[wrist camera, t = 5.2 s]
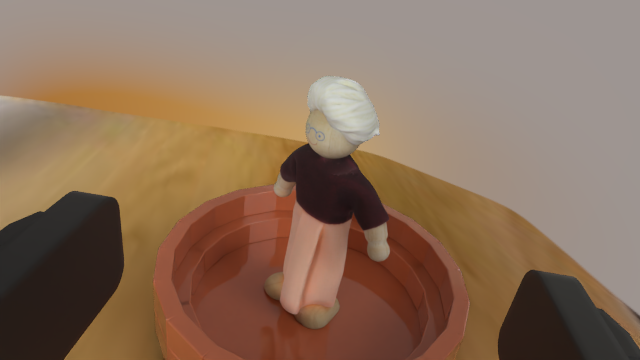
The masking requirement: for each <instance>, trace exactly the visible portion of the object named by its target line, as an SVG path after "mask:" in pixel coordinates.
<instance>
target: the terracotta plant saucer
mask: <svg viewBox="0 0 640 360" xmlns="http://www.w3.org/2000/svg"><path fill="white" fill-rule="evenodd" d="M295 201H296V185H295V186H294V187H293V190H292V193H291V194H290V195H289V196H287V197H279V196H278V195H276V194H275V192H274V185H267V186H260V187H254V188H247V189H241V190H236V191H234V192H231V193H228V194H225V195H223V196H220V197H217V198H215V199H212V200H209V201H206V202H205V203H203V204H202V205H200V206H199V207H197V208H196V209H194V210H193V211H192V212H190V213H189V214H187V215H186V216H184V217H183V218H181V219H180V220H179V221H178V222H177V223H176V225H175V226H174V227H173V229H172V230H171V232H170V233H169V234H168V236H167V237H166V239H165V240H164V241H163V243H162V244H161V246H160V247H159V248H158V254H157V260H156V266H155V272H154V278H153V292H154V309H155V328H156V334H157V337H158V340H159V344H160V347H161V350H162V353H163V356H164V359H165V360H454V359H455V357H456V354H457V352H458V350H459V347H460V345H461V342H462V340H463V337H464V333H465V328H466V322H467V317H468V312H469V306H470V303H469V302H470V301H469V298H468V294H467V291H466V287H465V284H464V280H463V277H462V273H461V271H460V268H459V267H458V265H457V264H456V263H455V261H454V260H453V259H452V257H451V256H450V254H449V253H448V252H447V250H446V249H445V248H444V246H443V245H442V243H440V241H439V240H437V239H436V238H435V237H434V236H433V235H431V234H430V233H429V232H428V231H426V230H425V229H424V228H423V227H422V226H420V225H419V224H418V223H417V222H415V221H414V220H412V219H411V218H409V217H407V216H405V215H403V214H401V213H400V212H398V211H396V210H394V209H392V208H390V207H388V206H386V205H384V204H383V203H382V205H383V207H384V208H385V210H386V212H387V214H388V216H389V220H388V221H387V222H386V224H387V232H388V236H387V239H386V240H387V243H388V245H389V249H390V254H389V256H388V257H387V258H386V259H385V260H384V261H380V262H377V261H374V260H372V259H370V257H369V256H368V253H367V246H368V241H367V240H366V238H365V234H364V231H363V230H362V228H361V227H360V225H359V224H358V222H357V220H356V218H355V216H354V213H353V216H352V221H351V224H350V229H349V234H348V243H347V253H346V259H345V265H344V272H343V276H342V279H341V282H340V285H339V288H338V292H337V295H336V298H337V300H338V302H339V305H340V308H339V311H338V312H337V314H336V315H335V316H334V317H333V318H332V319H331V320H330V322H329V323H328V324H327V325H326V326H324V327H323V328H319V329H310V328H307V327H305V326H303V325H302V324H301V323H299V322H298V321H297V320H296V318H295V316H294V314H292V313H290V312H288V311H286V310H285V309H284V308H283V307H282V305H281V302H280V300H275V299H273V298H271V297H270V296H269V295H268V294H267V293H266V291H265V289H264V284H265V282H266V280H267V279H268V277H269V276H271V275H272V274H274V273H278V272H283V266H284V259H285V255H286V250H287V246H288V241H289V236H290V230H291V224H292V217H293V209H294V205H295Z"/></svg>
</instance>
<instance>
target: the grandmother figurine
mask: <svg viewBox="0 0 640 360" xmlns="http://www.w3.org/2000/svg"><path fill="white" fill-rule="evenodd" d="M307 97H308V107H309V108H310V115H309V117H308V119H307V123H306V137H307V140H308V144H306V145H304V146H302V147H300V148H298V149H297V150H295V151H294V152H293V153H292V154H291V155H290V156H289V157H288V158H287V159H286V161H285V162H284V163H283V164H282V166H281V169H280V173H279V176H278V179H277V180H278V181H277V182H276V183H275V185H274V192H275V194H276V195H278V196H279V197H287V196H289V195H290V194H291V193H292V190H293V187H294V186H295V185H296V201H295V205H294V209H293V217H292V224H291V230H290V236H289V241H288V246H287V250H286V255H285V259H284V266H283V272H278V273H274V274H272V275H271V276H269V277H268V279H267V280H266V282H265V284H264V289H265V291H266V293H267V294H268V295H269V296H270V297H271V298H273V299H275V300H280V302H281V305H282V307H283V308H284V309H285V310H286V311H288V312H290V313H292V314H294V316H295V318H296V320H297V321H298V322H299V323H301V324H302V325H303V326H305V327H307V328H310V329H319V328H323V327H324V326H326V325H327V324H328V323H329V322H330V320H331V319H332V318H333V317H334V316H335V315H336V314H337V312H338V311H339V308H340V305H339V302H338V300H337V298H336V295H337V292H338V288H339V285H340V282H341V279H342V276H343V272H344V265H345V259H346V253H347V243H348V234H349V229H350V224H351V221H352V216H353V213H354V216H355V218H356V220H357V222H358V224H359V225H360V227H361V228H362V230H363V231H364V234H365V238H366V240H367V241H368V246H367V253H368V256H369V257H370V259H372V260H374V261H377V262H380V261H384V260H385V259H386V258H387V257H388V256H389V254H390V249H389V245H388V243H387V240H386V239H387V236H388V232H387V224H386V222H387V221H388V220H389V216H388V214H387V212H386V210H385V208H384V207H383V205H382V203H381V201H380V199H379V197H378V195H377V193H376V191H375V189H374V188H373V186H372V185H371V183H370V182H369V181H368V180H367V179H366V177H365V176H364V175H363V174H362V173H361V171H360V170H359V168H358V166H357V164H356V163H355V161H354V160H353V158H352V157H351V156H350V154H351V153H353V152H354V151H355V150H356V149H357V148H358V146H359V145H360V144H362V143H363V142H365V141H368V140H369V139H371V138H372V137H373V136H375V135H380V134H379V120H378V119H377V114H376V112H375V109H374V106H373V104H372V103H371V101H370V100H369V98H368V96H367V94H366V92H365V90H364V89H363V87H362V86H361V85H360V84H358V83H357V82H355V81H354V80H350V79H347V78H342V77H334V76H325V77H323V78H320V79H319V80H318V81H316V82H315V83H313V84H312V85H311V87H310V90H309V92H308V96H307Z"/></svg>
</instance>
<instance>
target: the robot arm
mask: <svg viewBox="0 0 640 360" xmlns="http://www.w3.org/2000/svg"><path fill="white" fill-rule="evenodd" d="M123 268H124V254H123V243H122V232H121V221H120V210H119V205H118V202H117V200H116V199H115V198H113V197H108V196H102V195H96V194H90V193H84V192H78V191H72V192H69V193H68V194H66V195H65V196H64V197H62V198H61V199H60V200H59V201H57V202H56V203H55V204H54V205H52V206H51V207H50V208H49V209H47V210H46V211H45V212H40V211H39V212H37V213H34V214H32V215H30V216H27V217H25V218H23V219H20V220H18V221H16V222H13V223H11V224H9V225H7V226H6V227H5V228H3V229H2V230H1V231H0V360H64V358H65V357H66V356H67V354H68V353H69V352H70V350H71V349H72V348H73V346H74V345H75V344H76V342H77V341H78V340H79V338H80V337H81V336H82V334H83V333H84V332H85V330H86V329H87V328H88V326H89V325H90V324H91V323H92V321H93V320H94V319H95V317H96V316H97V315H98V313H99V312H100V311H101V309H102V308H103V307H104V305H105V304H106V303H107V301H108V300H109V299H110V297H111V296H112V295H113V293H114V292H115V291H116V289H117V287H118V285H119V283H120V280H121V277H122V273H123ZM498 354H499V360H640V349H639V348H638V346H637V345H636V343H635V342H634V340H633V339H632V337H631V336H630V334H629V333H628V332H627V331H626V330H625V329H624V328H622V327H621V326H620V325H619V324H618V323H617V322H616V321H615V320H614V319H612V318H611V317H610V316H609V315H608V314H607V313H606V312H605V311H604V310H602V309H598V308H596V307H595V305H594V303H593V302H592V300H591V299H590V297H589V296H588V294H587V293H586V291H585V289H584V288H583V286H582V285H581V283H580V282H579V281H578V280H577V279H576V278H575V277H572V276H566V275H560V274H554V273H548V272H543V271H537V270H530V271H528V272H527V273H526V274H525V276H524V278H523V280H522V282H521V284H520V286H519V288H518V291H517V293H516V295H515V297H514V300H513V302H512V304H511V306H510V308H509V311H508V313H507V315H506V317H505V320H504V322H503V324H502V326H501V329H500V333H499V339H498Z"/></svg>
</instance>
